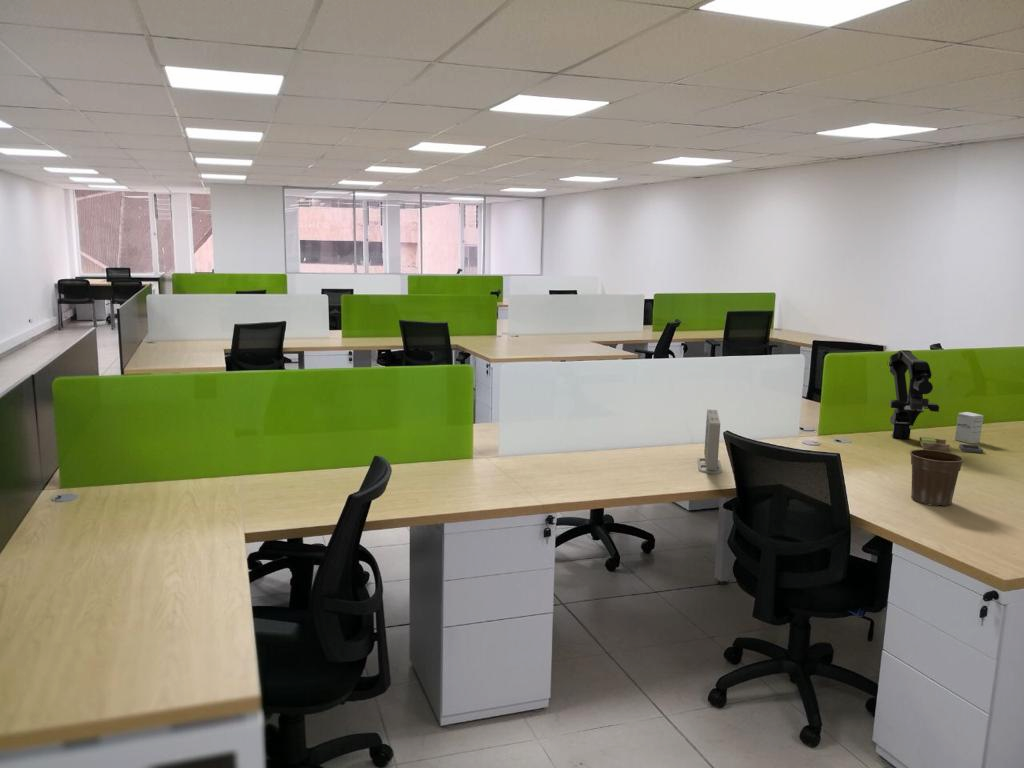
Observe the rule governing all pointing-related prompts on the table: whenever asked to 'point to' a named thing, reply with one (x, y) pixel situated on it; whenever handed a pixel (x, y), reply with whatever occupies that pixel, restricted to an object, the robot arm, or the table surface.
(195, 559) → the table surface
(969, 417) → the supplement box
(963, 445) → the trap pit
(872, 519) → the table surface
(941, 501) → the plant pot
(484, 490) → the table surface
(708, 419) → the network device
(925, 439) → the lime block
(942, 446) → the lane rails
